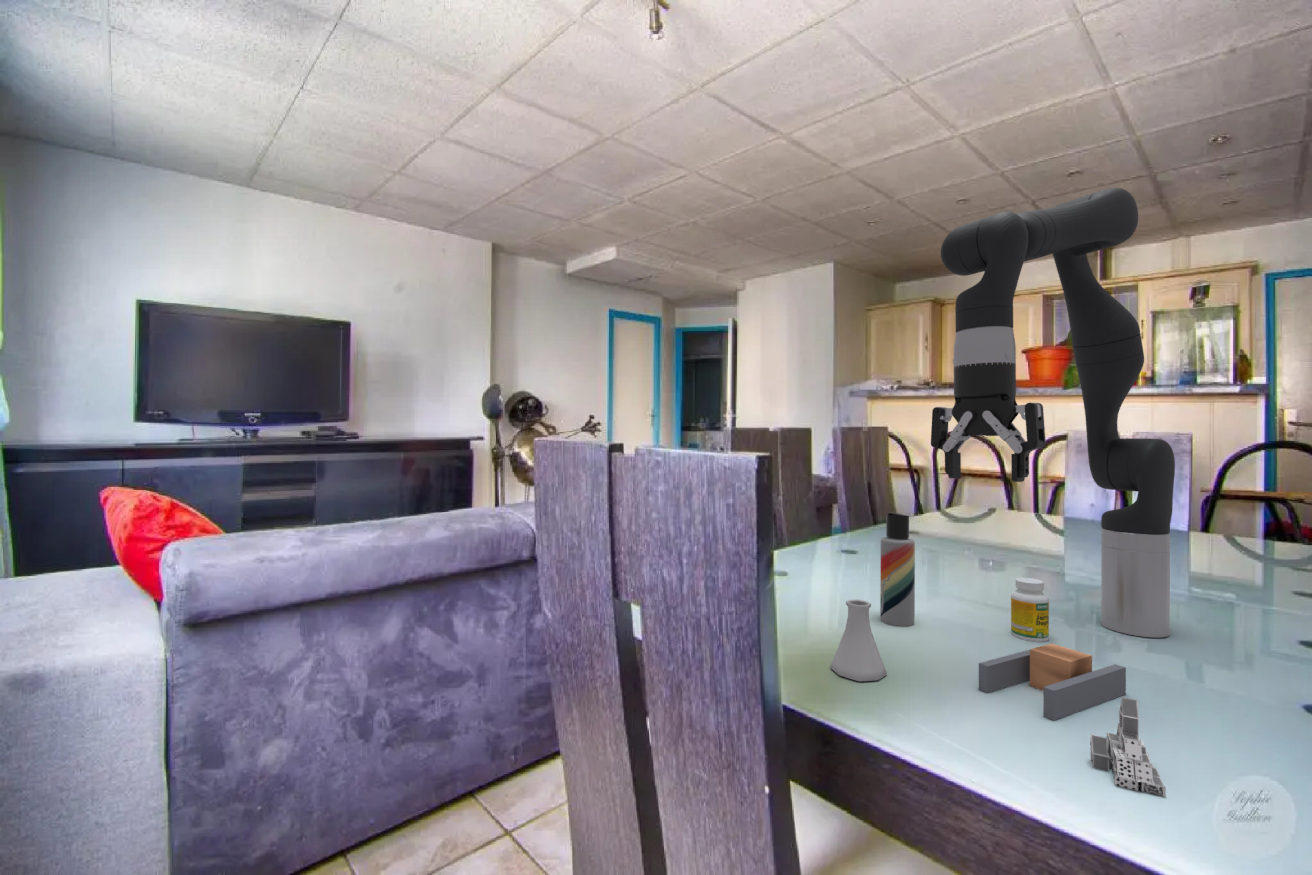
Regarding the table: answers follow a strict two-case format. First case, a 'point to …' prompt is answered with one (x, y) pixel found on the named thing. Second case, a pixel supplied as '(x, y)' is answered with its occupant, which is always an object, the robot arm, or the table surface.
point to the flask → (858, 647)
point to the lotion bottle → (897, 573)
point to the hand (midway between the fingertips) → (984, 479)
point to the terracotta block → (1056, 665)
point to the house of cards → (1127, 753)
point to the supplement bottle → (1030, 610)
